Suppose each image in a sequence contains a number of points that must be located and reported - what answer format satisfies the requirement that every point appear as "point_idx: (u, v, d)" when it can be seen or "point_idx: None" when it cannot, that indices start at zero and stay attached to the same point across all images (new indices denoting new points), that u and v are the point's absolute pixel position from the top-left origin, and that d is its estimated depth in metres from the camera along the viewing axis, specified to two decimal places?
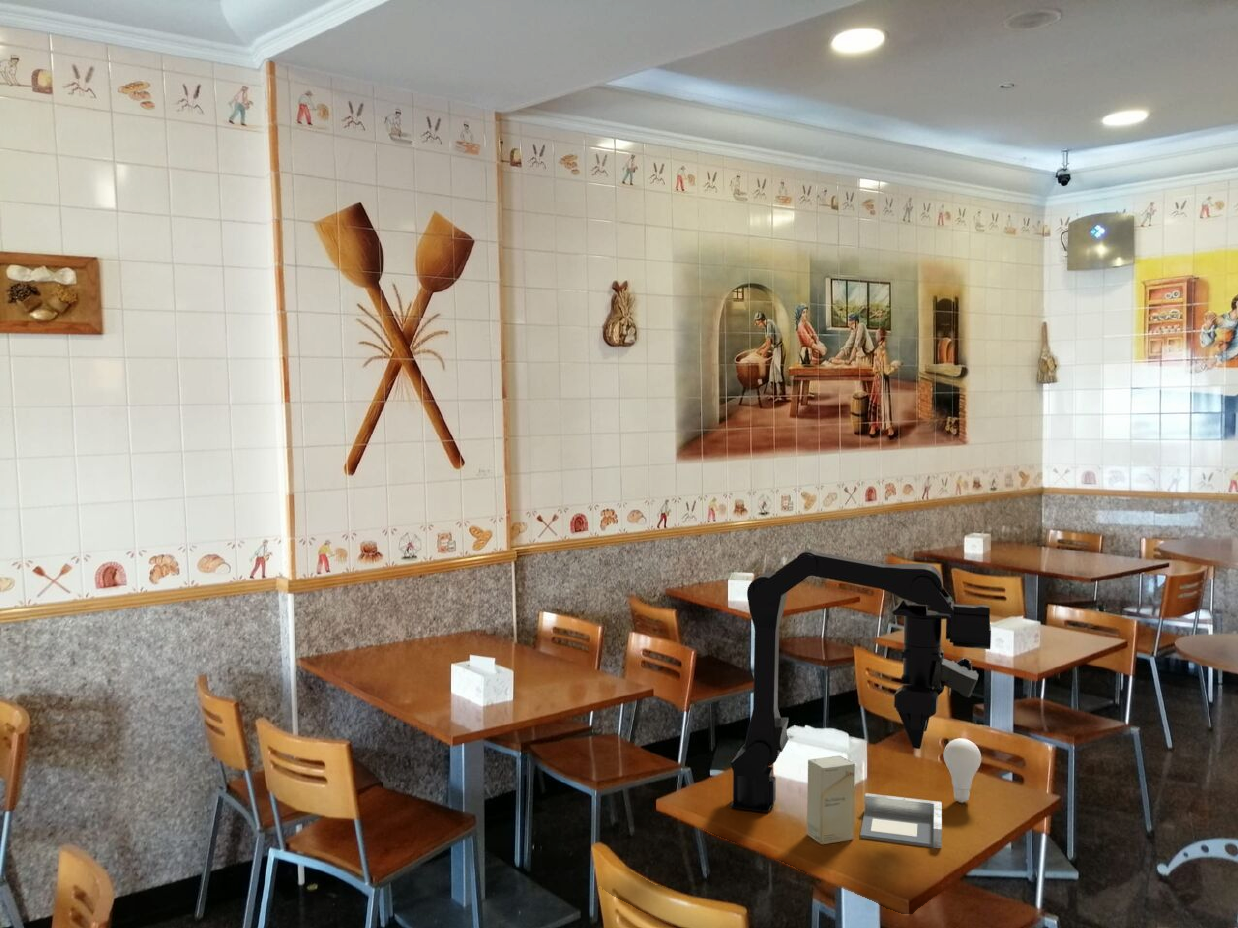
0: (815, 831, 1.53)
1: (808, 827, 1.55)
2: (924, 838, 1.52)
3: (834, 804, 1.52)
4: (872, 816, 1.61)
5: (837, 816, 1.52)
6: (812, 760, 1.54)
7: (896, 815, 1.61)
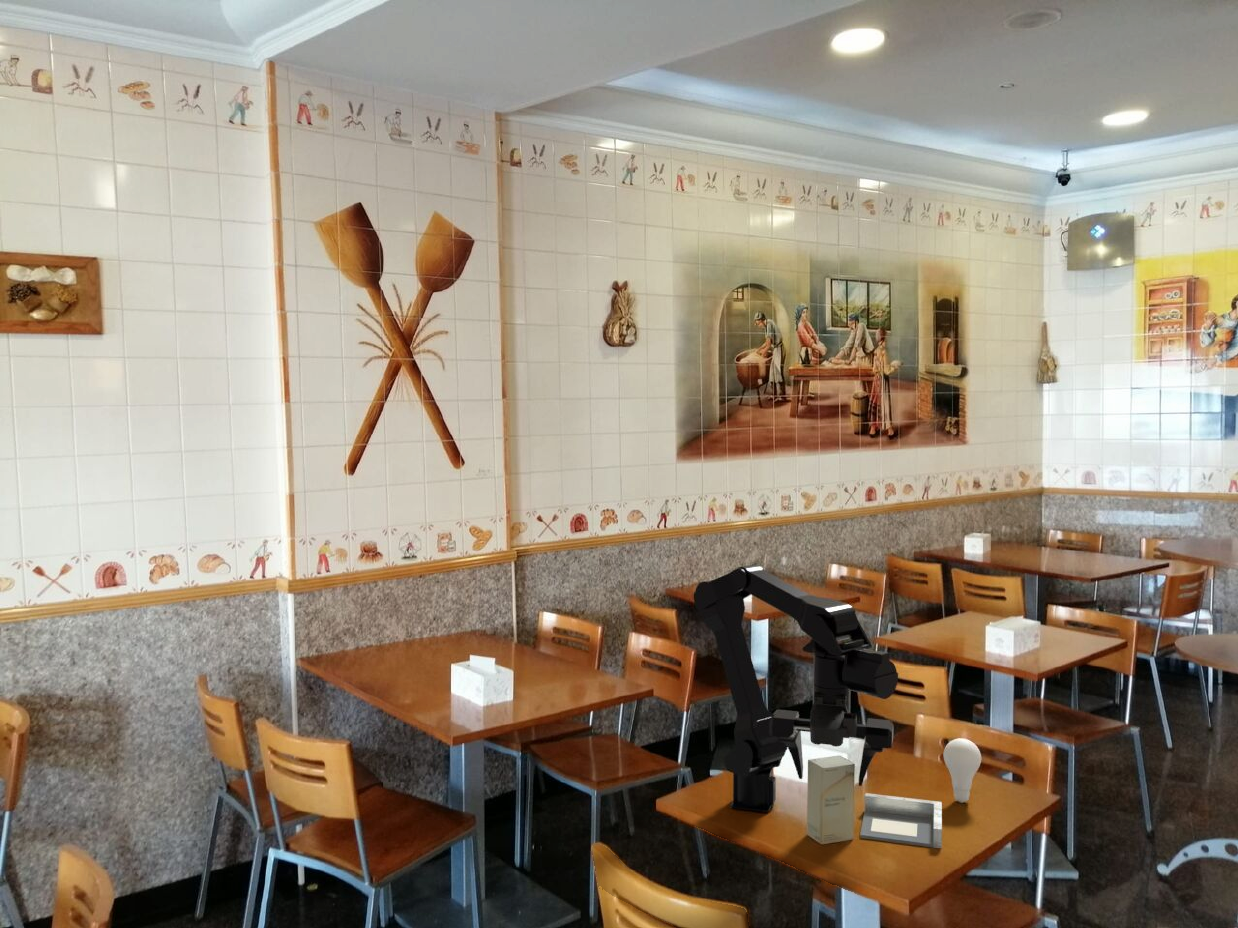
0: (815, 831, 1.53)
1: (808, 827, 1.55)
2: (924, 838, 1.52)
3: (834, 804, 1.52)
4: (872, 816, 1.61)
5: (837, 816, 1.52)
6: (812, 760, 1.54)
7: (896, 815, 1.61)
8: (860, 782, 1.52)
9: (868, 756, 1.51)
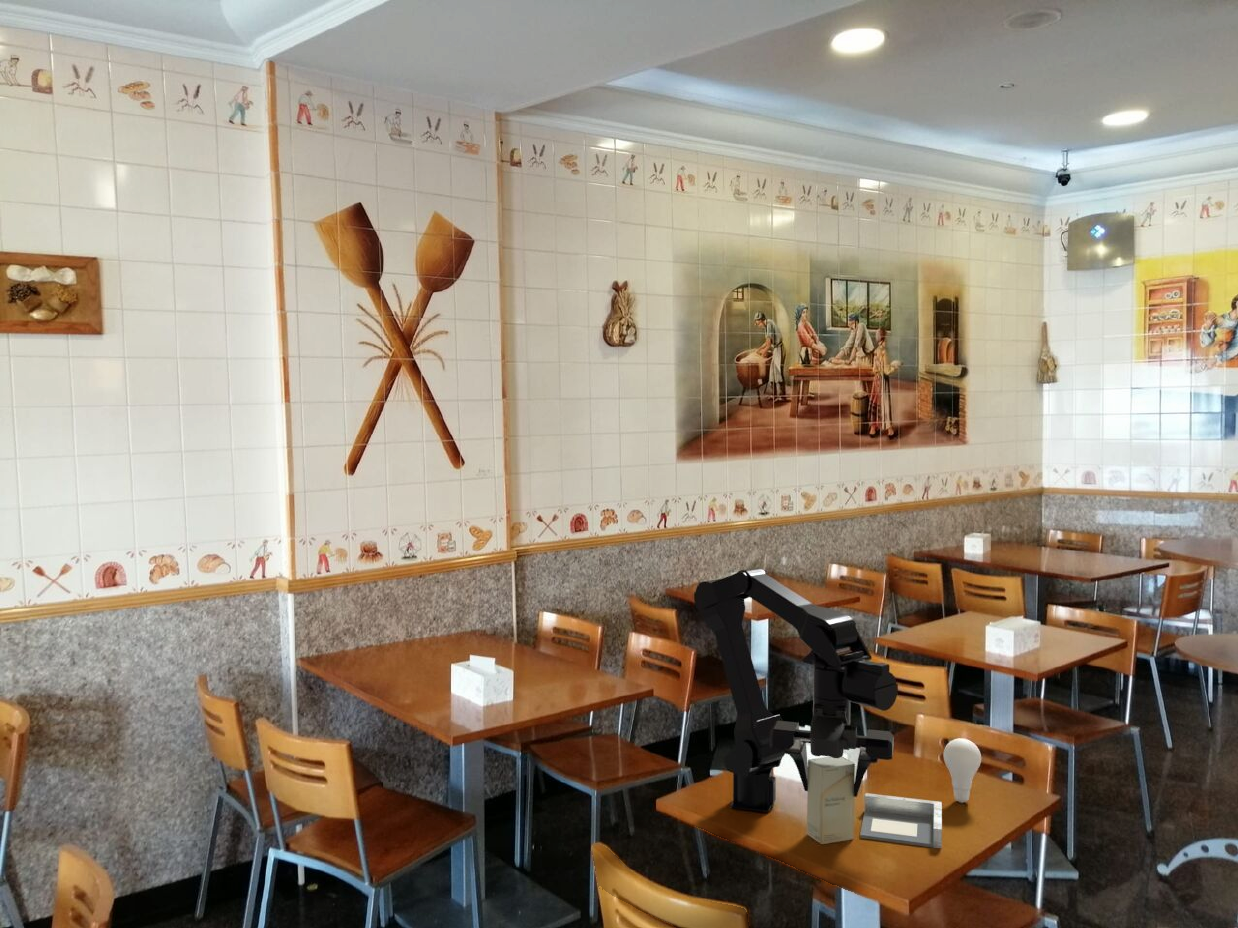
0: (815, 831, 1.53)
1: (808, 826, 1.55)
2: (924, 838, 1.52)
3: (834, 804, 1.52)
4: (872, 816, 1.61)
5: (837, 815, 1.52)
6: (812, 760, 1.54)
7: (896, 815, 1.61)
8: (855, 793, 1.52)
9: (863, 767, 1.51)
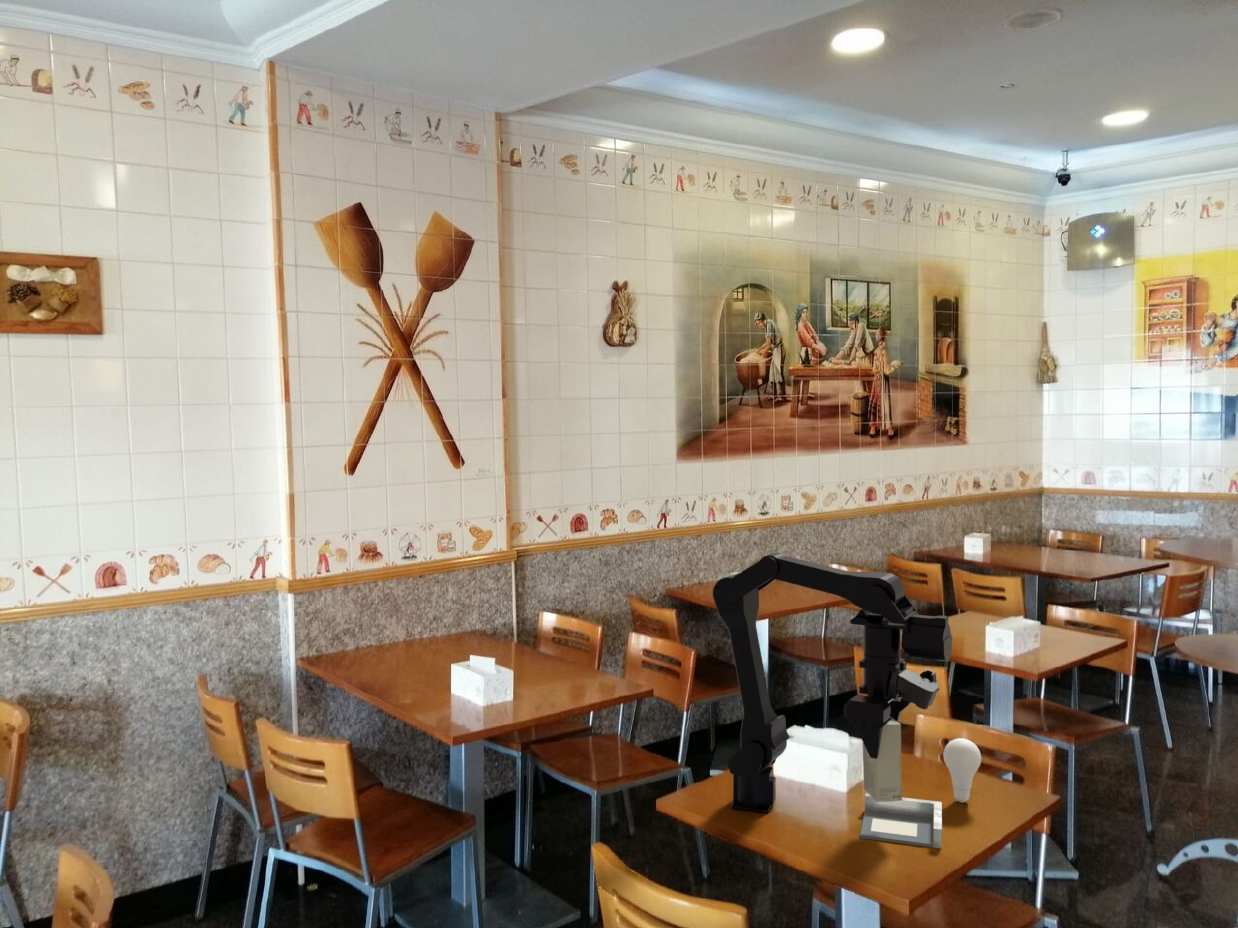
0: (893, 791, 1.52)
1: (880, 793, 1.52)
2: (924, 838, 1.52)
3: None
4: (872, 816, 1.61)
5: None
6: None
7: (896, 815, 1.61)
8: None
9: (901, 711, 1.58)
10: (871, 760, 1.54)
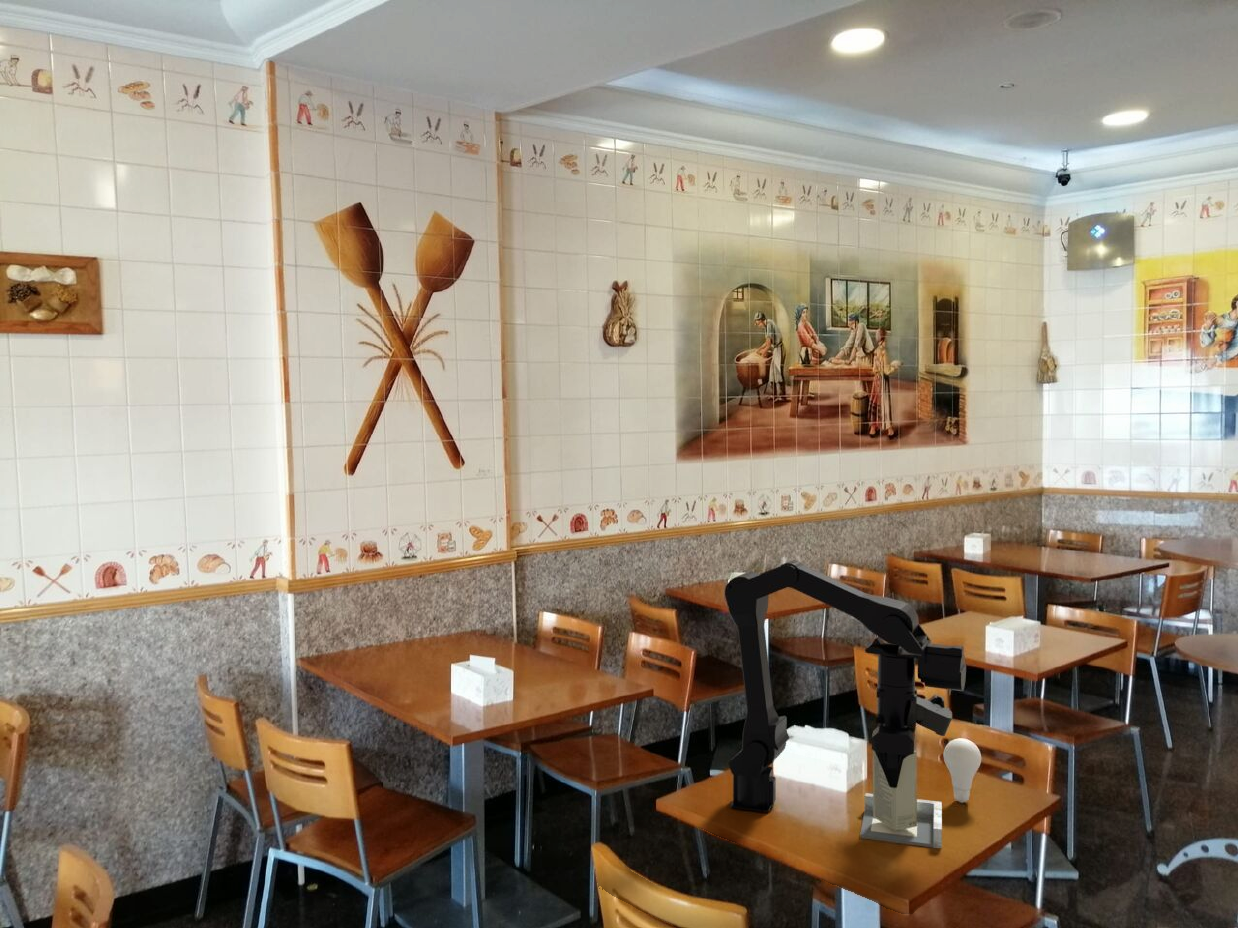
0: (910, 818, 1.54)
1: (898, 821, 1.53)
2: (924, 838, 1.52)
3: None
4: (872, 816, 1.61)
5: None
6: None
7: None
8: None
9: None
10: (887, 788, 1.55)
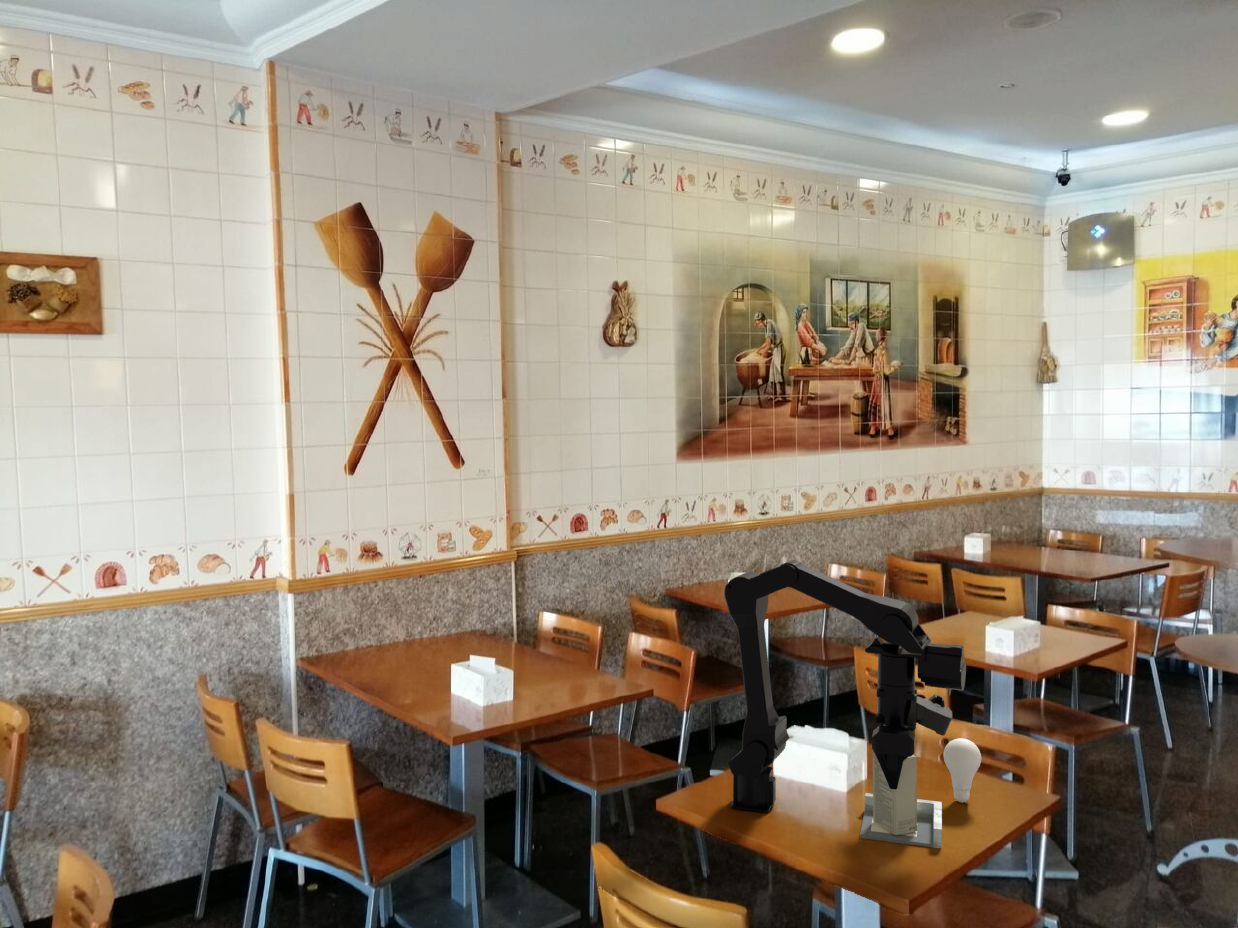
0: (910, 823, 1.54)
1: (898, 826, 1.53)
2: (924, 838, 1.52)
3: None
4: (872, 816, 1.61)
5: None
6: None
7: None
8: None
9: None
10: (887, 793, 1.55)
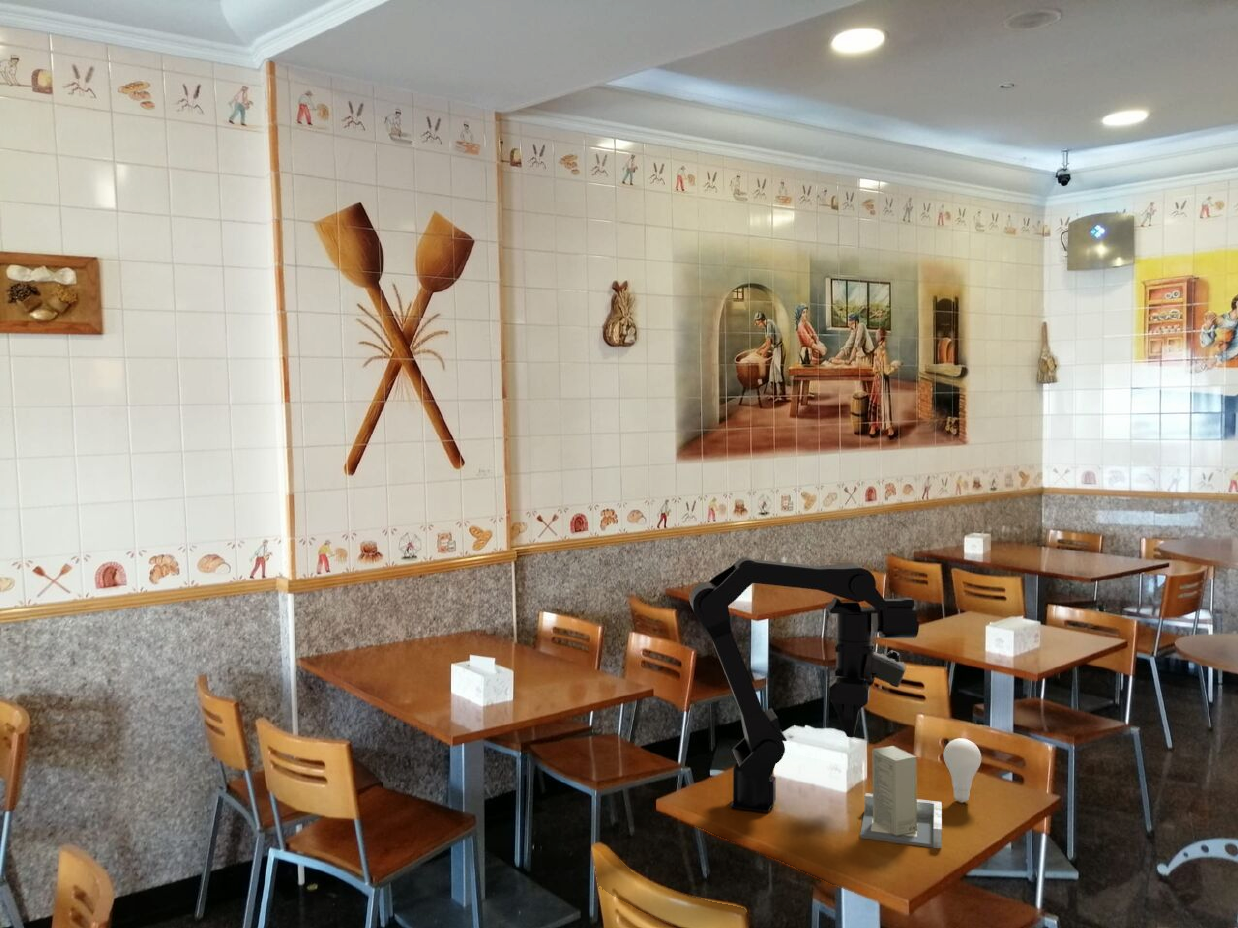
0: (910, 824, 1.54)
1: (898, 826, 1.53)
2: (924, 838, 1.52)
3: None
4: (872, 816, 1.61)
5: None
6: (896, 759, 1.53)
7: None
8: None
9: None
10: (887, 794, 1.55)
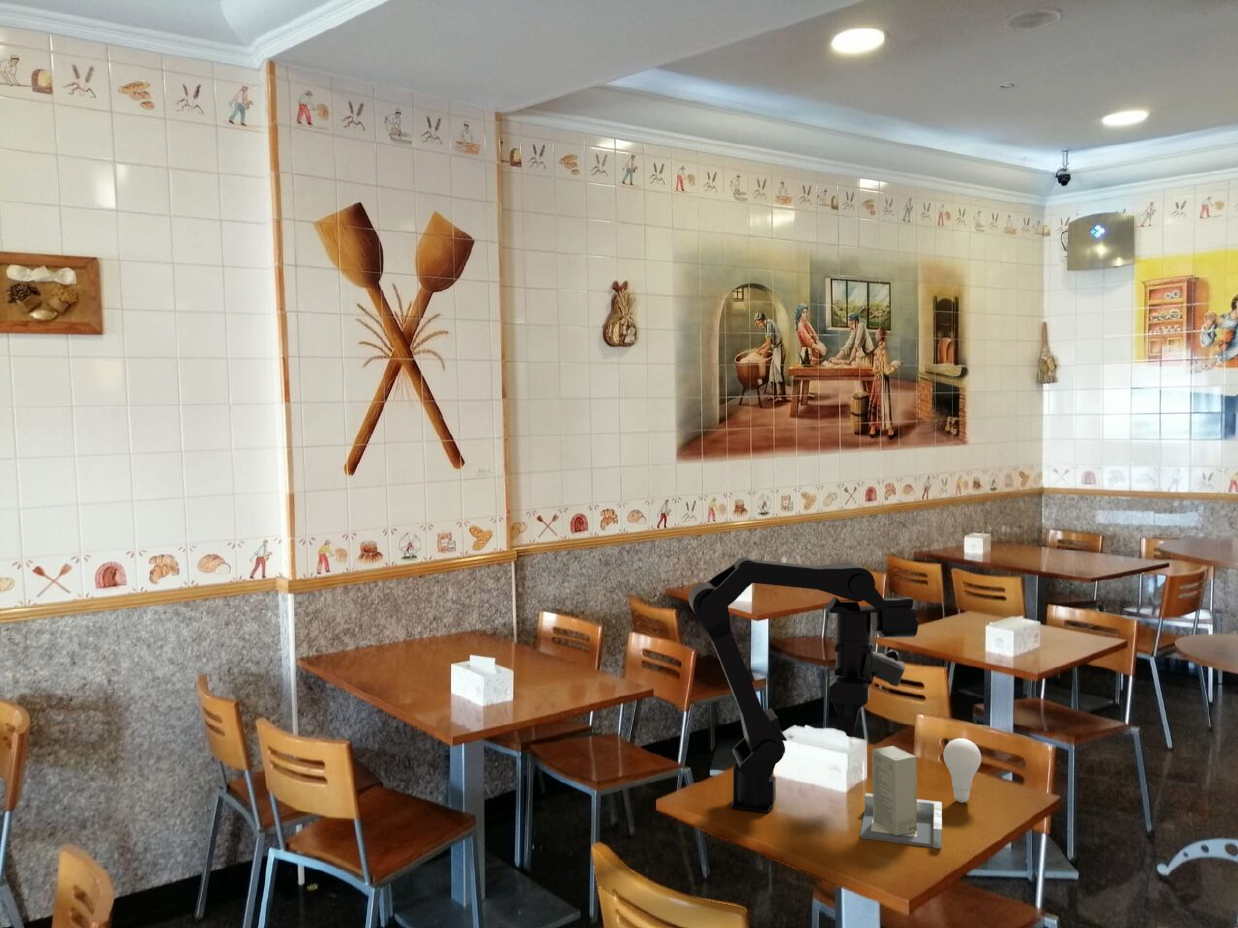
0: (910, 824, 1.54)
1: (898, 826, 1.53)
2: (924, 838, 1.52)
3: None
4: (872, 816, 1.61)
5: None
6: (896, 759, 1.53)
7: None
8: None
9: None
10: (887, 794, 1.55)
